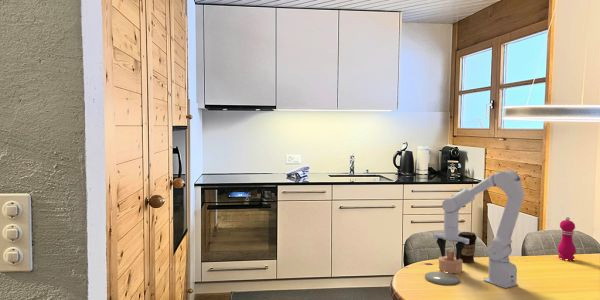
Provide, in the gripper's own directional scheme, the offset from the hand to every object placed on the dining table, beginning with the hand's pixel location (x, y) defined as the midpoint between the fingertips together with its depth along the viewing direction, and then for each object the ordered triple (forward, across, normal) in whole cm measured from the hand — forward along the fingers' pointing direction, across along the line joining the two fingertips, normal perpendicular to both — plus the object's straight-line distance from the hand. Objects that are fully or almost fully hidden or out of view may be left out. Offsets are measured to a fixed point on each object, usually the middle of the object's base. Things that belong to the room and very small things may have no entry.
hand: (450, 257), depth 170 cm
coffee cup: (+6, -1, -18) cm, 19 cm away
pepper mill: (+6, -35, -53) cm, 64 cm away
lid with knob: (+5, 0, 0) cm, 5 cm away
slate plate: (+5, -2, +13) cm, 14 cm away
